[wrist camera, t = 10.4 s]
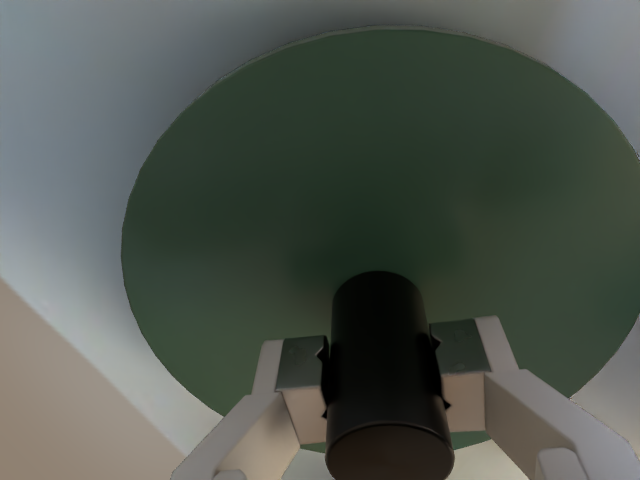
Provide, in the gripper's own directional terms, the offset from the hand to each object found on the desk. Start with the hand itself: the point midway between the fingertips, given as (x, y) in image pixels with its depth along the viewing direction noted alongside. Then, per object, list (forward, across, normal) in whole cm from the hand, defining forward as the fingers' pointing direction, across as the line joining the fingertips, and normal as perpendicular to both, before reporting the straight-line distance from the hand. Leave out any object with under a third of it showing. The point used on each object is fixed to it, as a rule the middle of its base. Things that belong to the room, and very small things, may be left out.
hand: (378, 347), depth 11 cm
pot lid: (+2, 0, 0) cm, 2 cm away
